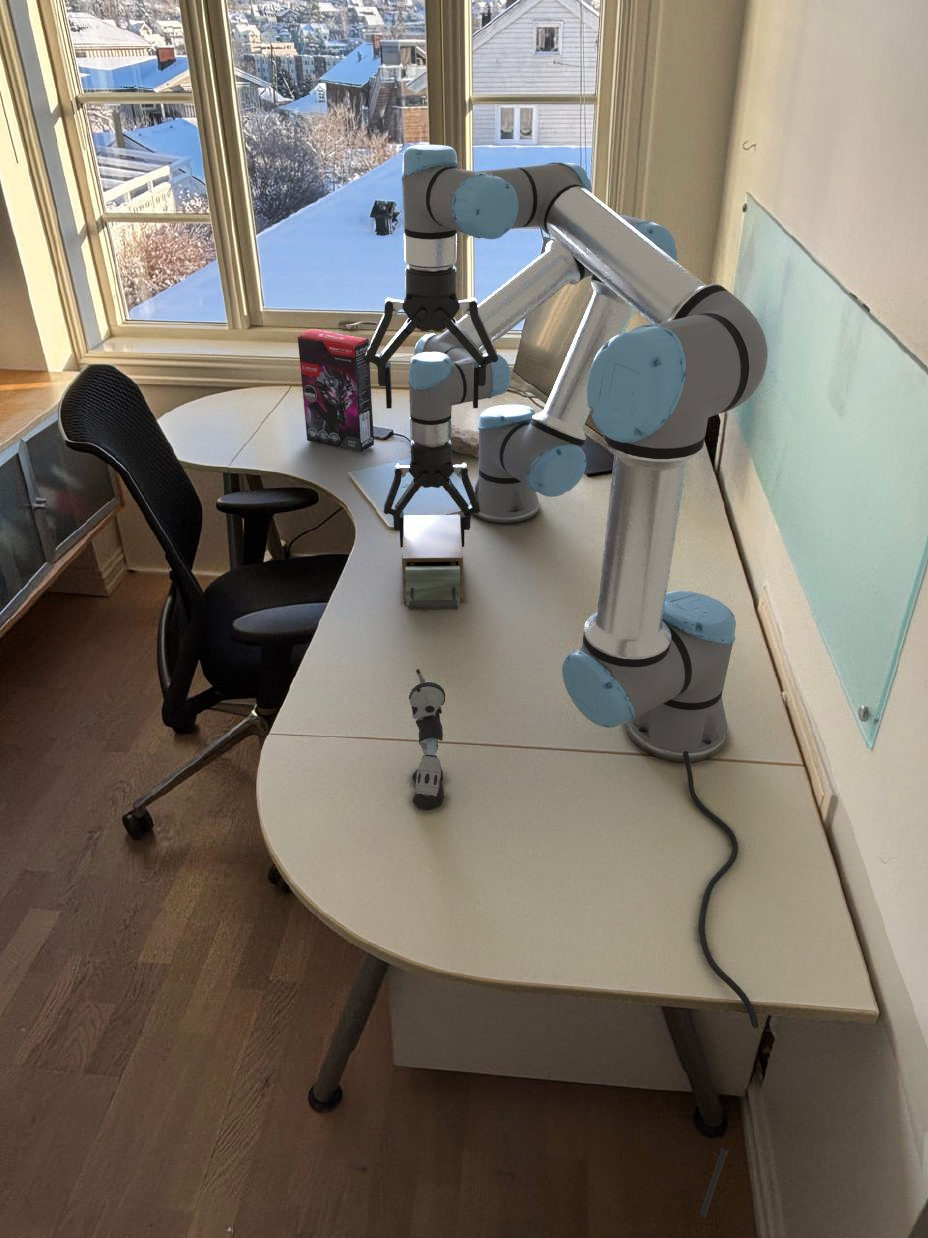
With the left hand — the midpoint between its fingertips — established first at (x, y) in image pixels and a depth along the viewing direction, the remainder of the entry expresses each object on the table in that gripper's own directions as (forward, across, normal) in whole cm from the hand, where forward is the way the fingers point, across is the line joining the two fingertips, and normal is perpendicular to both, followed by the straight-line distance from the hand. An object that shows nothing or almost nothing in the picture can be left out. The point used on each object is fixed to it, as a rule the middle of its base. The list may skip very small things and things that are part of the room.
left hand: (432, 543), depth 182 cm
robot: (+5, +1, +63) cm, 64 cm away
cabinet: (+5, 0, +5) cm, 7 cm away
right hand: (-36, 0, +20) cm, 41 cm away
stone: (+5, -5, -59) cm, 59 cm away
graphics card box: (+5, +23, -61) cm, 65 cm away
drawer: (+4, 0, +12) cm, 12 cm away
